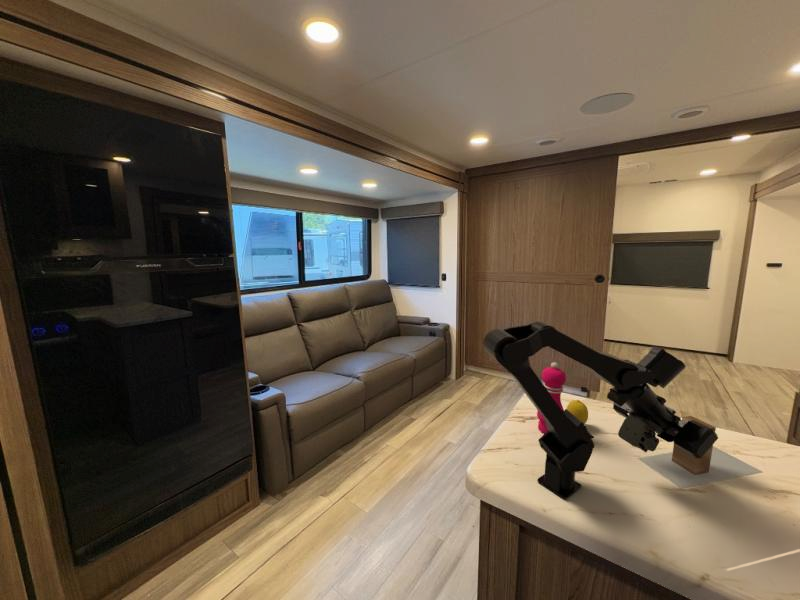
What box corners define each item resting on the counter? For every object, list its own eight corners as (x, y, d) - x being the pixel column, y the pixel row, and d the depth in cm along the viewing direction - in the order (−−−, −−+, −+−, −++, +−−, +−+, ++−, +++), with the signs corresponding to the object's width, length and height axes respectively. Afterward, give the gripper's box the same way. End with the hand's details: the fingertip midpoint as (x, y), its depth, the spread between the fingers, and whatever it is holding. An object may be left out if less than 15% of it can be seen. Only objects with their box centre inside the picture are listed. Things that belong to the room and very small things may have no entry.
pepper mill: (561, 441, 84) (566, 369, 81) (533, 431, 89) (537, 363, 85) (566, 428, 90) (571, 361, 87) (539, 420, 94) (543, 356, 91)
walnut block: (694, 475, 71) (701, 429, 69) (671, 460, 76) (677, 417, 74) (708, 472, 71) (715, 427, 70) (685, 458, 76) (691, 415, 75)
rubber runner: (680, 489, 67) (681, 488, 67) (637, 459, 77) (637, 458, 77) (762, 473, 71) (763, 471, 71) (711, 446, 81) (711, 445, 81)
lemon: (567, 419, 95) (569, 394, 94) (588, 425, 92) (591, 399, 90) (563, 427, 91) (565, 401, 89) (585, 434, 87) (587, 406, 86)
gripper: (583, 407, 76) (617, 443, 80) (660, 455, 58) (700, 499, 62) (613, 373, 77) (646, 410, 81) (700, 411, 59) (737, 456, 62)
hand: (677, 440), depth 71 cm, fingers closed
